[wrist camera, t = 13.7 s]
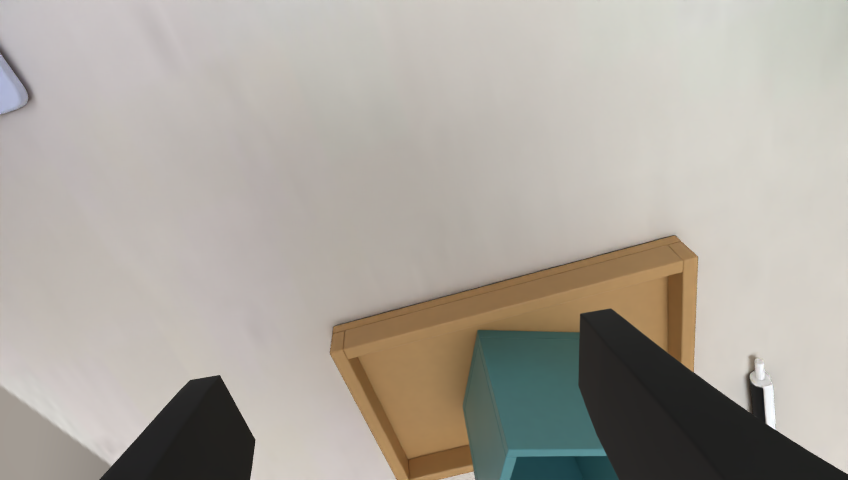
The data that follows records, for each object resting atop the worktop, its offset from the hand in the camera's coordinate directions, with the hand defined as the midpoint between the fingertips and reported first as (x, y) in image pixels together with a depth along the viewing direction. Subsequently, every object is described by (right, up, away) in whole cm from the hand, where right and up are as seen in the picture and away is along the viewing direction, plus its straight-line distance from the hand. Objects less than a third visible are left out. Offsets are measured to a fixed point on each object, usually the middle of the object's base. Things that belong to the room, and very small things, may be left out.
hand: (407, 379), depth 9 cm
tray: (+5, -3, +13) cm, 14 cm away
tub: (+5, -3, +13) cm, 14 cm away
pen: (+21, -10, +19) cm, 30 cm away
